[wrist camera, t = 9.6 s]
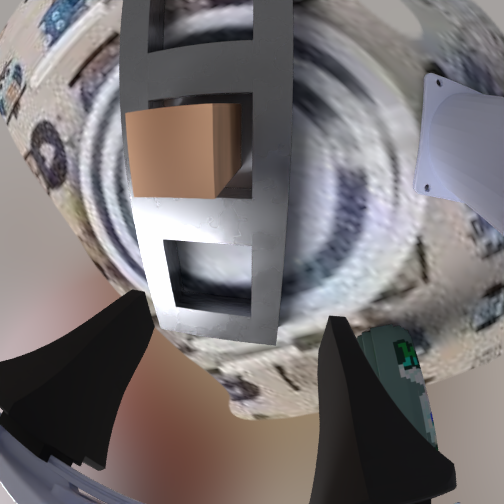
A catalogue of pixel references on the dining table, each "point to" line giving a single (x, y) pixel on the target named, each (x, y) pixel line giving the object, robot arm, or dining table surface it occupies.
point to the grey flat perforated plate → (229, 199)
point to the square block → (184, 149)
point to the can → (400, 374)
